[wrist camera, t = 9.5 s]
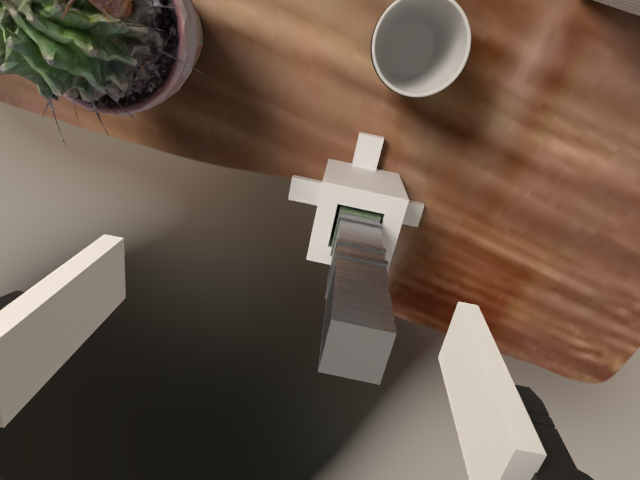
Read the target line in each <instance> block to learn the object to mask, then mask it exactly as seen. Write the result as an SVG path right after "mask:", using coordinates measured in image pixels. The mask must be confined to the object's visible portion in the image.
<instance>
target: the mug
mask: <svg viewBox="0 0 640 480" xmlns="http://www.w3.org/2000/svg"><path fill="white" fill-rule="evenodd" d="M470 47H471V30H470V25H469V22H468V19H467V17H466V15H465V13H464V11H463V10H462V8H461V7H460V6H459V5H458V3H457V2H456V1H454V0H395V1H394V2H393V3H392V4H391V5H390V6H389V7H388V8H387V9H386V10H385V11H384V12H383V14H382V15H381V16H380V18H379V20H378V22H377V24H376V26H375V28H374V31H373V35H372V40H371V58H372V63H373V66H374V69H375V71H376V73H377V75H378V77H379V78H380V80H381V81H382V82H383V83H384V84H385V85H386V86H387V87H388V88H389V89H391V90H392V91H394V92H396V93H398V94H400V95H403V96H407V97H414V98H419V97H427V96H431V95H433V94H436V93H438V92H440V91H442V90H443V89H445V88H446V87H448V86H449V85H450V84H451V83H452V82H453V81H454V80H455V79H456V78H457V77H458V76H459V74H460V73H461V71H462V70H463V68H464V66H465V64H466V62H467V59H468V56H469V52H470Z"/></svg>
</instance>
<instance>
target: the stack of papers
mask: <svg viewBox="0 0 640 480" xmlns="http://www.w3.org/2000/svg"><path fill="white" fill-rule="evenodd" d="M593 1H596V2H599V3H602V4H605V5H608V6H611V7H614V8H617V9H620V10H623V11H626V12H629V13H632V14H635V15H637V16H640V0H593Z"/></svg>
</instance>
